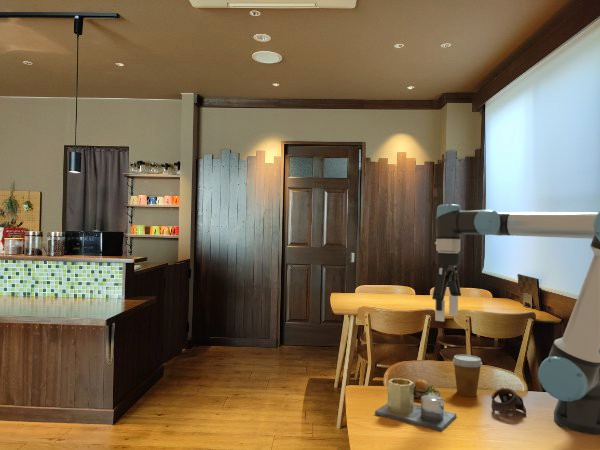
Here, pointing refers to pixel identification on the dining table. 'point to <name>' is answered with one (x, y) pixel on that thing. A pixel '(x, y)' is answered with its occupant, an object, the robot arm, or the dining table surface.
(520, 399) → the pottery mug
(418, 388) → the burger
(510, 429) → the dining table surface
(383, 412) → the plate
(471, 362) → the disposable coffee cup
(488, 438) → the dining table surface
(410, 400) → the sleeve
